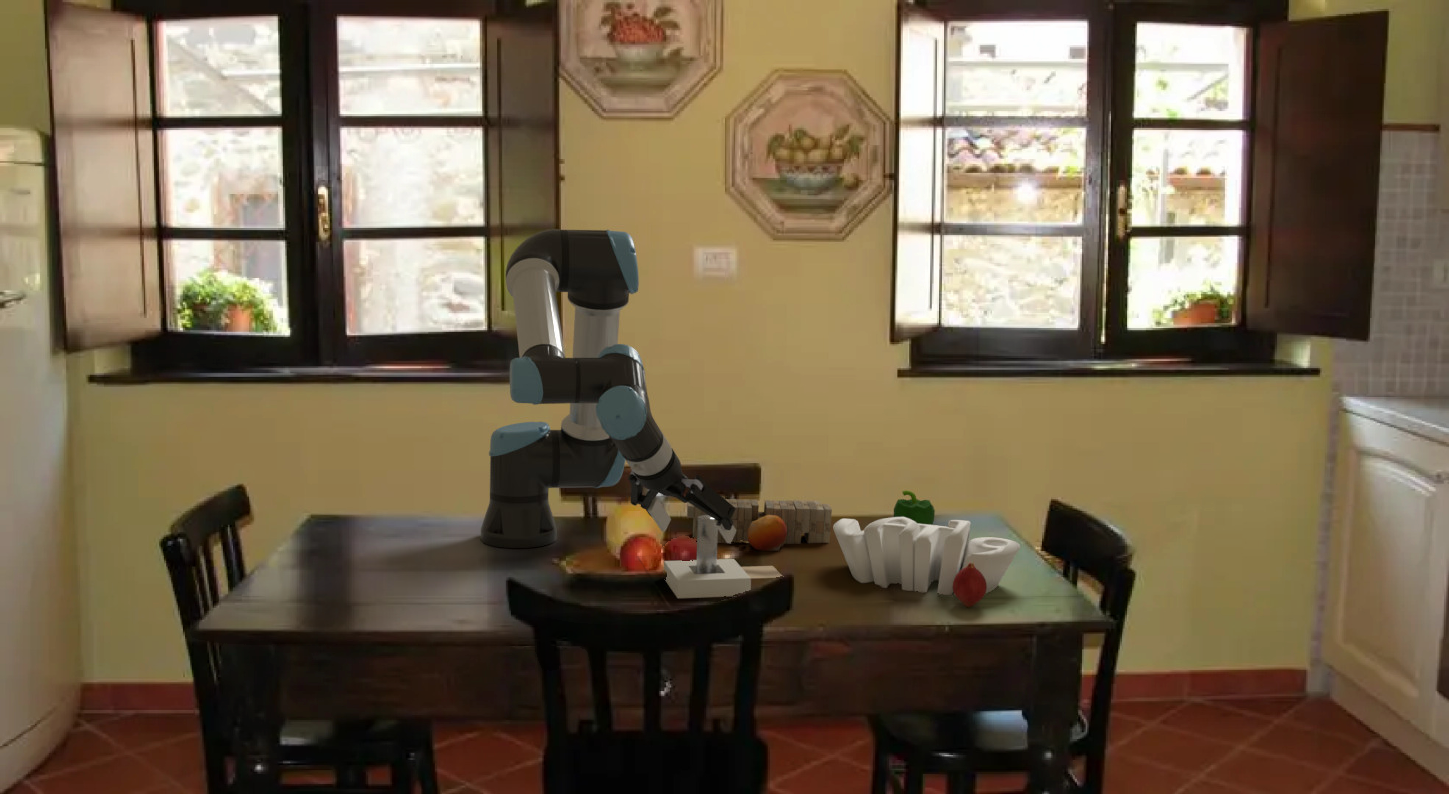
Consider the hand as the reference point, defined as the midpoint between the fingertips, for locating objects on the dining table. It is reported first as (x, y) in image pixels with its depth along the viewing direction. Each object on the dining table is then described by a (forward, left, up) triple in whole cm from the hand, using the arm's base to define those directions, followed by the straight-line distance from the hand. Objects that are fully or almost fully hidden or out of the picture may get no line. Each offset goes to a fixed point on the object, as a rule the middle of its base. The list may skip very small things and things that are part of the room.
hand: (698, 531), depth 244 cm
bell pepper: (-33, +53, -11) cm, 64 cm away
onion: (+15, +45, -11) cm, 49 cm away
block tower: (-36, +20, -12) cm, 43 cm away
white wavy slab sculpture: (-3, +43, -11) cm, 44 cm away
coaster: (-10, +14, -11) cm, 20 cm away
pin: (-2, +2, -11) cm, 12 cm away
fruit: (-28, +20, -11) cm, 37 cm away
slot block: (-2, +2, -11) cm, 12 cm away
